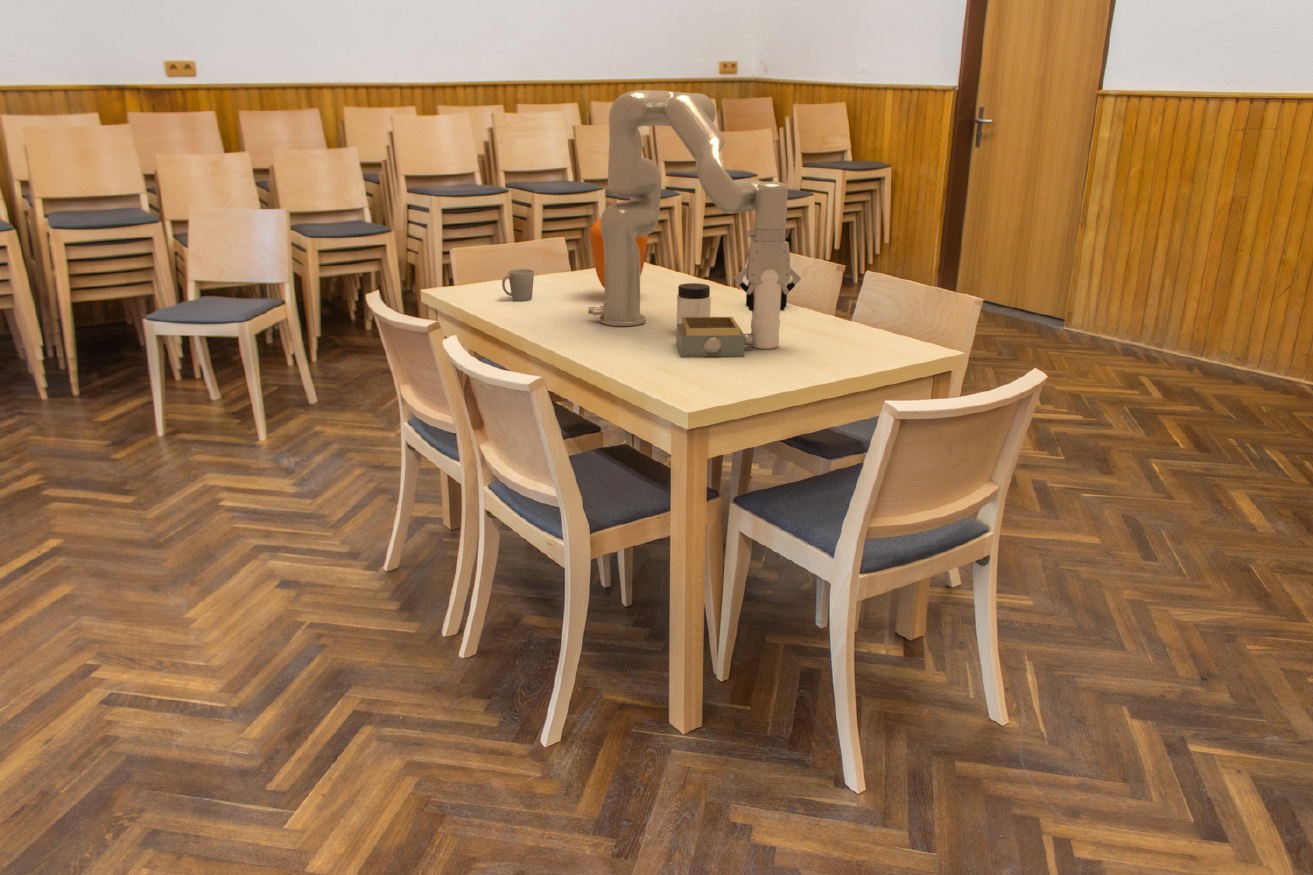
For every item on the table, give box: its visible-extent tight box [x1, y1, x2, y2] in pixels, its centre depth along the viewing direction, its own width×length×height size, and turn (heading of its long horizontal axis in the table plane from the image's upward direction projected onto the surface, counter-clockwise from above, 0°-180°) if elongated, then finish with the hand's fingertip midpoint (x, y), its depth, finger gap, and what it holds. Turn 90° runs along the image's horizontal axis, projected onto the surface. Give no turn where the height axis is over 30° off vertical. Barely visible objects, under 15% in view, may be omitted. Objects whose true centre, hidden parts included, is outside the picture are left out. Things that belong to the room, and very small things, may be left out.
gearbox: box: [675, 316, 754, 358], centre depth 234 cm, size 18×14×7 cm
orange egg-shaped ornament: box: [589, 216, 649, 289], centre depth 288 cm, size 17×17×25 cm
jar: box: [676, 282, 712, 325], centre depth 251 cm, size 9×8×12 cm
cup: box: [501, 268, 535, 302], centre depth 288 cm, size 8×10×8 cm
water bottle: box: [750, 269, 782, 350], centre depth 235 cm, size 7×7×25 cm
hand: (765, 309), depth 236 cm, fingers closed on water bottle, 7 cm apart
